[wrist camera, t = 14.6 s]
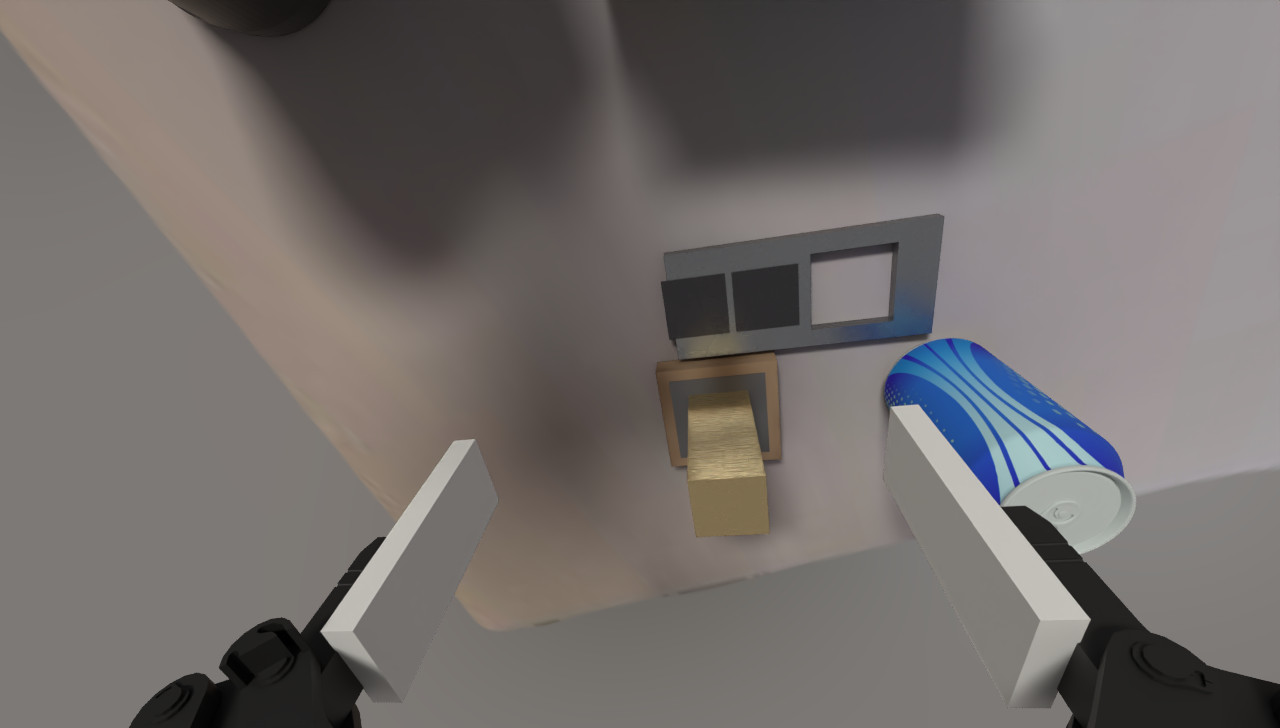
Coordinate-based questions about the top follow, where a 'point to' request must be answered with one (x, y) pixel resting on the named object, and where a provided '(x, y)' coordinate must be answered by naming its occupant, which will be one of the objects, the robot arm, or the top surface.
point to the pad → (720, 377)
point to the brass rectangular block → (725, 466)
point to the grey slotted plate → (794, 289)
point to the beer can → (1017, 439)
